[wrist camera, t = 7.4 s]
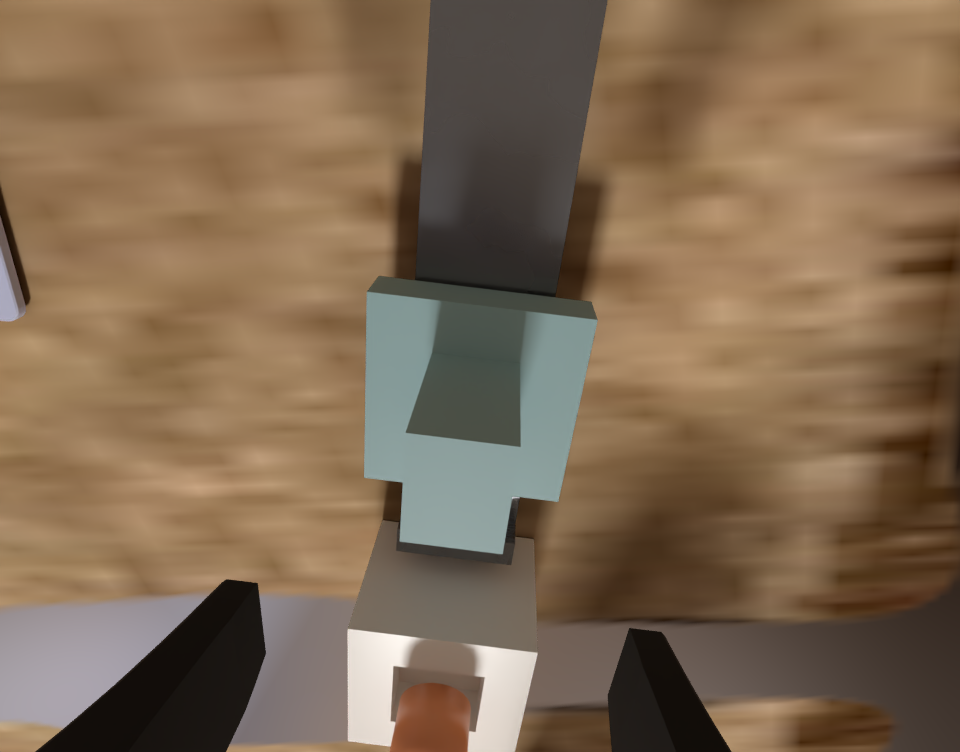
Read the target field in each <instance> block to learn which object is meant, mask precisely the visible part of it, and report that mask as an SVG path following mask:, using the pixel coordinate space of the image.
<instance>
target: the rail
mask: <svg viewBox="0 0 960 752" xmlns="http://www.w3.org/2000/svg"><path fill="white" fill-rule="evenodd" d="M606 6H607V0H431V5H430V24H429V42H428V60H427V78H426V96H425V114H424V132H423V150H422V169H421V187H420V205H419V223H418V241H417V259H416V277H415V280H416V281H425V282H433V283H441V284H449V285H457V286H466V287H474V288H482V289H490V290H498V291H507V292H515V293H523V294H531V295H539V296H547V297H555V295H556V289H557V284H558V278H559V272H560V267H561V261H562V255H563V250H564V244H565V238H566V233H567V227H568V221H569V216H570V210H571V204H572V199H573V193H574V187H575V182H576V176H577V170H578V164H579V159H580V153H581V147H582V142H583V136H584V130H585V125H586V119H587V113H588V108H589V102H590V96H591V91H592V85H593V79H594V74H595V68H596V62H597V57H598V51H599V45H600V40H601V34H602V28H603V23H604V17H605V11H606ZM519 499H520V497H515V496H512V502H511V508H510V513H509V519H508V525H507V531H506V537H505V543H504V549H503V554H496V553H488V552H480V551H472V550H464V549H456V548H448V547H440V546H432V545H424V544H416V543H408V542H400V524H401V517H400V521H399V524H398V528H397V543H396V551H401V552H409V553H417V554H425V555H433V556H441V557H449V558H457V559H465V560H473V561H480V562H488V563H496V564H504V565H511V564H512V558H513V553H514V547H515V522H516V516H517V511H518V505H519Z"/></svg>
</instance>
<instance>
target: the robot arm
mask: <svg viewBox="0 0 960 752" xmlns="http://www.w3.org/2000/svg"><path fill="white" fill-rule="evenodd" d="M25 312H26V305H25V302H24V298H23V295H22V291H21V288H20V284H19V281H18V277H17V273H16V270H15V266H14V263H13V259H12V256H11V252H10V249H9V245H8V241H7V238H6V234H5V231H4V227H3V224H2V220H1V217H0V320H1V321H14V320H16V319H18V318H20V317H22V316H24V314H25ZM265 654H266V650H265V642H264V634H263V625H262V616H261V608H260V599H259V590H258V583H252V582H244V581H236V580H225V581H224V582H222V583H221V584H220V585H219V586H218V587H217V588H216V589H215V590H214V591H213V592H212V593H211V594H210V595H209V596H208V597H207V598H206V599H205V600H204V601H203V602H202V603H201V604H200V605H199V606H198V607H197V608H196V609H195V610H194V611H193V612H192V613H191V614H190V615H189V616H188V617H187V618H186V619H185V620H184V621H183V622H182V623H180V624H179V625H178V626H177V628H175V629H174V630H173V631H172V632H171V633H170V634H169V635H168V636H167V637H166V638H165V639H164V640H163V641H162V642H161V643H160V644H159V645H157V646H156V647H155V649H153V650H152V651H151V652H150V653H149V654H148V655H147V656H146V657H145V658H144V659H142V660H141V661H140V662H139V663H138V664H137V665H136V666H135V667H134V668H133V669H132V670H130V671H129V672H128V673H127V674H126V675H125V676H124V677H123V678H122V679H121V680H119V681H118V682H117V683H116V684H115V685H114V686H113V687H112V688H111V689H109V690H108V691H107V692H106V693H105V694H104V695H102V696H101V697H100V698H99V699H98V700H97V701H95V702H94V703H93V704H92V705H91V706H90V707H88V708H87V709H86V710H85V711H84V712H83V713H82V714H80V715H79V716H78V717H77V718H76V719H74V721H72V722H71V723H70V724H69V725H67V726H66V727H65V728H64V729H63V730H61V731H60V732H59V733H58V734H57V735H55V736H54V737H53V738H52V739H50V740H49V741H48V742H47V743H46V744H44V745H43V746H42V747H41V748H39V749H38V750H37V751H36V752H226V751H227V748H228V746H229V744H230V742H231V740H232V738H233V736H234V733H235V732H236V730H237V727H238V725H239V723H240V721H241V719H242V717H243V714H244V712H245V710H246V708H247V705H248V702H249V699H250V697H251V694H252V691H253V689H254V686H255V683H256V680H257V677H258V674H259V672H260V669H261V666H262V663H263V660H264V657H265ZM608 706H609V720H610V734H611V745H612V752H731V750H730V749H729V747H728V745H727V744H726V742H725V741H724V739H723V737H722V736H721V734H720V732H719V731H718V729H717V728H716V726H715V724H714V723H713V721H712V719H711V718H710V716H709V714H708V713H707V711H706V709H705V707H704V706H703V704H702V702H701V700H700V699H699V697H698V695H697V694H696V692H695V690H694V688H693V687H692V685H691V683H690V681H689V680H688V678H687V676H686V674H685V672H684V671H683V669H682V667H681V665H680V663H679V661H678V660H677V658H676V656H675V654H674V652H673V650H672V648H671V647H670V645H669V643H668V641H667V639H666V637H665V636H664V635H663V634H662V632H657V631H649V630H641V629H632V628H629V631H628V634H627V637H626V640H625V644H624V647H623V650H622V653H621V656H620V659H619V662H618V665H617V669H616V671H615V674H614V678H613V681H612V684H611V687H610V690H609V693H608Z"/></svg>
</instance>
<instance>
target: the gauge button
mask: <svg viewBox="0 0 960 752" xmlns="http://www.w3.org/2000/svg"><path fill="white" fill-rule="evenodd" d="M470 714H471V705H470V702H469V700H468V698H467V697H466V696H465V695H464V694H463V693H462V692H460V691H459V690H457V689H455V688H453V687H451V686H448V685H444V684H439V683H422V684H418V685H414V686H412V687H410V688H408V689H407V690H406V691H404V693H403V694H402V695H401V698H400V702H399V707H398V712H397V717H396V722H395V727H394V732H393V737H392V742H391V747H390V752H468V740H469V727H470Z"/></svg>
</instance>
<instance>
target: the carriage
mask: <svg viewBox="0 0 960 752" xmlns="http://www.w3.org/2000/svg"><path fill="white" fill-rule="evenodd" d="M597 321H598V320H597V317H596V314H595V311H594V308H593V305H592V302H588V301H580V300H572V299H564V298H556V297H547V296H539V295H531V294H523V293H515V292H507V291H498V290H490V289H482V288H474V287H466V286H457V285H449V284H441V283H433V282H425V281H416V280H408V279H400V278H392V277H384V276H379V277H378V278H377V279H376V280H375V282H374V283H373V284H372V286H371V287H370V288H369V290H368V291H367V320H366V390H365V460H364V478H371V479H379V480H387V481H395V482H403V487H402V506H401V524H400V542H408V543H416V544H424V545H432V546H440V547H448V548H456V549H464V550H472V551H480V552H488V553H496V554H503V549H504V543H505V537H506V531H507V525H508V519H509V513H510V508H511V502H512V496H515V497H523V498H531V499H539V500H547V501H555V502H558V500H559V496H560V491H561V486H562V482H563V477H564V473H565V468H566V463H567V459H568V454H569V450H570V445H571V440H572V436H573V431H574V427H575V422H576V417H577V413H578V408H579V404H580V399H581V394H582V390H583V385H584V381H585V376H586V371H587V367H588V362H589V357H590V353H591V348H592V344H593V339H594V334H595V330H596V325H597Z"/></svg>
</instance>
